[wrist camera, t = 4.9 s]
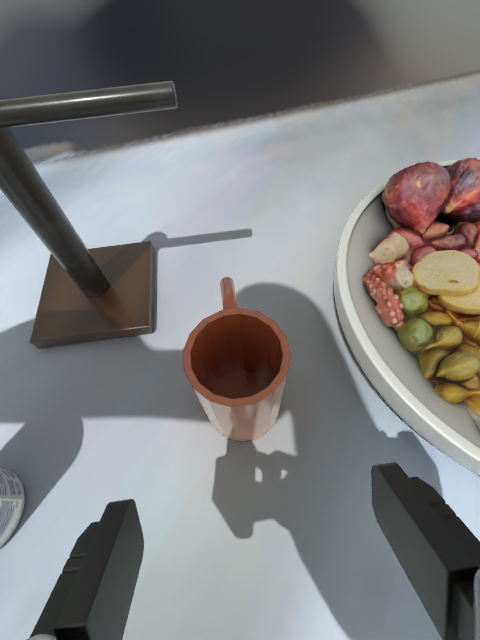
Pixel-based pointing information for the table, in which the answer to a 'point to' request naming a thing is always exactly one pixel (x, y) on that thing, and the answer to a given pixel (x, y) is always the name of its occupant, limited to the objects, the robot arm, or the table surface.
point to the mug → (238, 368)
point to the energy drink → (10, 503)
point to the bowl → (419, 300)
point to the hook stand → (61, 238)
